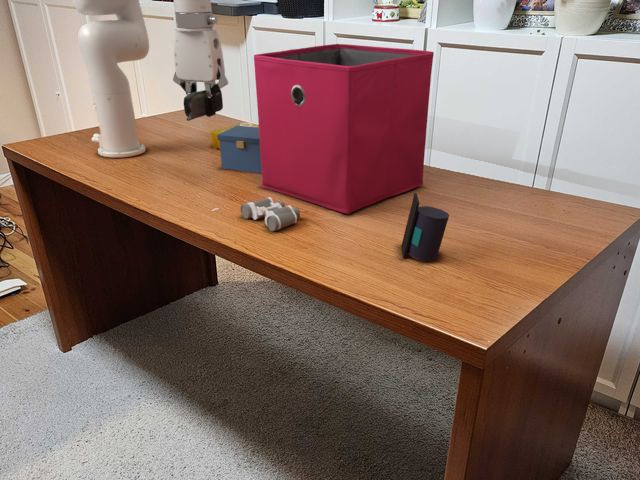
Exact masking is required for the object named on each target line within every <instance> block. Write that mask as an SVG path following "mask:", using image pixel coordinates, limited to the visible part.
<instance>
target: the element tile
mask: <svg viewBox="0 0 640 480" xmlns="http://www.w3.org/2000/svg"><path fill="white" fill-rule="evenodd" d="M235 126H247V127H258V128H259V124H256V123H252V122H242V123H238V124H234V125H229V126H225V127H220V128H217V129H212V130H211V131H210V140H211V147H212V148H214V149H218V150H220V140H218V138H217V135H218V134H220V133H222V132H224V131H226V130H229V129H231V128H233V127H235Z"/></svg>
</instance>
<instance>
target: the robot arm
mask: <svg viewBox="0 0 640 480" xmlns="http://www.w3.org/2000/svg"><path fill="white" fill-rule="evenodd" d="M72 3H73V6H74V7H75V9H76V11H77V12H78V13H79V14H82V15H84V16H90V17H91V16H93V17H94V16H96V17H97V16H111V15H112V16H115V17H116V19H113V20H112V19H110V20H109V19H107V20H95V21H90V22H86V23H84V24H83V25H82V26H81V27H80V28H79V29H78V33H77V42H78V45H79V46H78V47H79V49H80V52H81V55H82V57H83V60H84V63H85V67H86V69H87V73H88V77H89V81H90V86H91V91H92V96H93V101H94V102H93V103H94V106H95V112H96V113H95V114H96V117H97V122H98V128H99V133H94V134H93V135H92V137H91V142H92V143H97V144H99V147H98V148H97V154H98V155H100V156H101V157H104V158H113V159H114V158H116V159H119V158H130V157H136V156H139V155H142V154H143V153H145V152H146V150H147V148H146V145H145V144H143V143H140V140H139V135H138V134H139V133H138V129H137V123H136V116H135V110H134V104H133V98H132V92H131V86H130V82H129V79H128V77H127V75H126V74H125V73H124V71H123V70H122V68H121V67H120V66H119V65H118V64H120V63H127V62H135V61H140V60H144V59H145V58H147V56H148V54H149V52H150V39H149V34H148V30H147V26H146V22H145V19H144V15H143V12H142V7H141V4H140V0H72ZM173 7H174V9H173V10H174V16H175V25H176V28H175V29H174V33H173V60H174V70H175V71H174V74H173V77H172V81H173V83H175V84H177V85H178V86H179V87H180V88H182V90H183V91H184V92H185V95H186V96H187V95H188V94H190V93H193V92H198V83H204V90H206V95H207V97H206V98H205V108H206V115H205V116H206V117H207V118H211V117H213V116H216V113H217V112H216V100H215V96H216V95H217V93H218V92H219V90H221V89H223V88H224V87H226V86H228V85H229V79H228V78H227V76H226V70H225V68H226V67H225V62H224V61H225V60H224V54H223V49H222V43H221V40H220V36H219V32H218V30H217V28H216V29H214V25H217V24H218V21H219V20H218V19H219V18H218V16H215V15H213V11H212V0H173ZM216 81H218V82H216Z"/></svg>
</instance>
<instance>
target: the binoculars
mask: <svg viewBox="0 0 640 480" xmlns="http://www.w3.org/2000/svg"><path fill="white" fill-rule="evenodd" d="M240 213H241V216H242V217H243V218H244V219H246V220H247V219H251V218H252V219H253V221H254V220H255V221H256V220H259V219H263V218H264V223H265V225H266V226H267V227H268V229H269V231H271V232H276V231H279V230H282V229H284V228H286V227H289V226H291V225H293V224H296V223H298V219H300V217H301V211H300V210H299V208H298V207H297V206H293V207H292V206H291V205H290V204H289V205H285V202H284V201H282V200H278V201H277V202H274V200H273V198H272V197H270V196H269V197H265V198H262V199H257V200H254V201H249V202H245V203H241V205H240Z"/></svg>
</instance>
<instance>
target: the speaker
mask: <svg viewBox="0 0 640 480" xmlns="http://www.w3.org/2000/svg"><path fill="white" fill-rule="evenodd" d="M420 204H421V203H420V200H419V196H418V193H417V192H414V193H413V196H412V202H411V204H410V210H409V214H408V217H407V220H406V225H405V230H404V233H403V238H402V242H401V245H400V246H401V252H402V253H401V254H402V259H406V258H407V255H409V256H410V257H412V258H414V259H417V260H420V261H423V262H424V261H425V262H431V261H436V260H437V258H438V255H439V252H440V249H441V246H442V242H443V238H444V235H445V233H446V232H445V231H446V228H447V225H448V221H449V218H450V214H449V213H448V212H447V211H445V210H443V209H441V208H438V207H435V206H429V205H424V206H422V205H421V206H420Z"/></svg>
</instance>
